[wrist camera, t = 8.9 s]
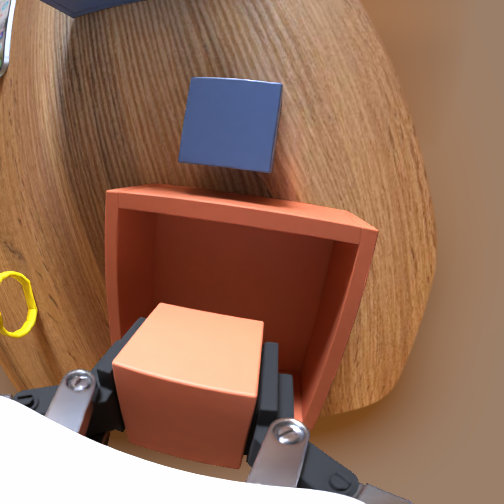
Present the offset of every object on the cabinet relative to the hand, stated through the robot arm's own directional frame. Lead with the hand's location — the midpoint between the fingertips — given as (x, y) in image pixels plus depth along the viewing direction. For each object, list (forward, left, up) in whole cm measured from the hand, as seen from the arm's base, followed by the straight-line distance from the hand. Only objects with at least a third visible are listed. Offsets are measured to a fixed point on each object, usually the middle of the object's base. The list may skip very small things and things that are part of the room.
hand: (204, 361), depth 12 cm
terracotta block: (0, 0, -1) cm, 1 cm away
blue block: (+1, -10, -8) cm, 13 cm away
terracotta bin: (0, 0, -8) cm, 8 cm away
